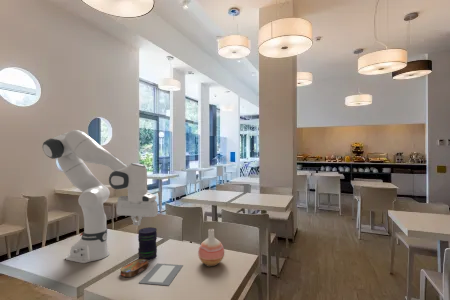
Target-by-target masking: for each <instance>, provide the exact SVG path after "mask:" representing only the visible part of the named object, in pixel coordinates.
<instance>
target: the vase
mask: <svg viewBox="0 0 450 300" xmlns="http://www.w3.org/2000/svg"><path fill="white" fill-rule="evenodd" d="M207 232H208V233H207V234H208V235H207V236H208V237H206V238H205V240H204V241H202V242H201V244H200V245H199V248H198V252H197V254H198V255H197V256H198V258H199V260H200V261H201V262H202V264H204V265H205V266H207V267H215V266H217V265H219V263H221V262H222V261H223V259H224V257H225V249H224V248H225V247H224V245H223V244H222V242H221V241H220V240H218V239H217V238H216V237H215V229H214V228H209V229H208V231H207Z"/></svg>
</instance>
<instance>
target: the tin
mask: <svg viewBox="0 0 450 300" xmlns="http://www.w3.org/2000/svg"><path fill="white" fill-rule="evenodd" d="M149 262H150V260H147V259H139V258H138V259H134V260H133V261H131V262H129V263H127V264H125V265H123V266H122V267H121V268H120V276H121V277H124V278H131V277H134V276H137V275H138V274H140V273H141V272H143V271H144V270H146V269H147V268H148V267H149Z"/></svg>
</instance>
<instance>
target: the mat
mask: <svg viewBox="0 0 450 300" xmlns="http://www.w3.org/2000/svg"><path fill="white" fill-rule="evenodd" d="M183 267H184V265H183V264H171V263H169V264H168V263H159V262H158V263H156V264H155V265H154V266H153V267H152V268H151V269H150V270H148V271H149V272H147V274H145V276H143V278H141V280H140V281H139V282H138V284H142V285H151V286H152V285H153V286H165V287H169V286H170V285H171V283H172V282H173V280H174V279H175V278H176V276H177V275H178V273H179V272H180V271H181V269H182V268H183Z"/></svg>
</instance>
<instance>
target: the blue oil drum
mask: <svg viewBox="0 0 450 300" xmlns="http://www.w3.org/2000/svg"><path fill="white" fill-rule="evenodd" d="M137 237H138V251H137V252H138V253H137V254H138V259H147V260H148V261H152V260H154V259H156V258H157V256H158V255H157V253H158V252H157V251H158V246H157V239H158V233H157V228H156V227H152V226H151V227H143V228H140V229H139V230H138V236H137Z"/></svg>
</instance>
